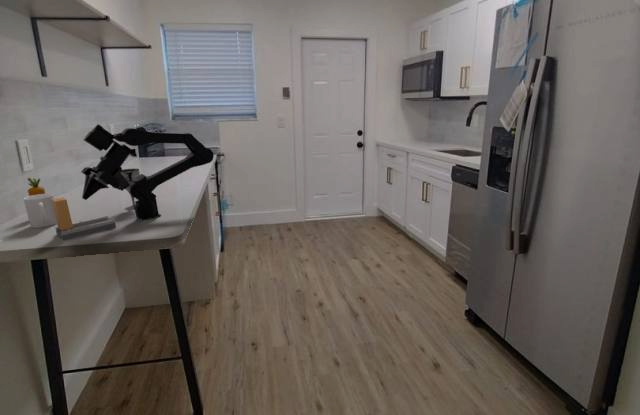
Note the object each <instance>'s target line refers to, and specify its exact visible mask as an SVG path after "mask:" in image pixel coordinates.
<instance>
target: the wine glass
mask: <svg viewBox="0 0 640 415" xmlns="http://www.w3.org/2000/svg"><path fill="white" fill-rule="evenodd" d="M120 173H121V174H122V175H123V176H124V178H125V179H126V180H127V182H128V183H129V182H130V181H132V180H131V179H133V178H136V177H138V176H139V175H141V173H140V168H126V169H125V168H124V169H123V168H122V170H121V172H120ZM125 191H127V188H126V189H125ZM130 198H131V201H132V205H130V206H127V207H125V208H124V210H125V211H135V207H134V206H136V204H135V198H134V197H133V196H132V195H130Z"/></svg>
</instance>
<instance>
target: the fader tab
mask: <svg viewBox="0 0 640 415" xmlns="http://www.w3.org/2000/svg"><path fill="white" fill-rule="evenodd" d="M51 200H52V204H53V208H54V212H55V217H56V221H57V224H56V225H57V227H58V228H57V230H58V231H59V232H60V233H61V232H62V231H66V230H68V229H75V228H74V227H73V225H72V224H73V221H72V218H71V213H70V208H69V204H68V201H67V200H68V199H66V198H64V197H58V198H54V199H51Z"/></svg>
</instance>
